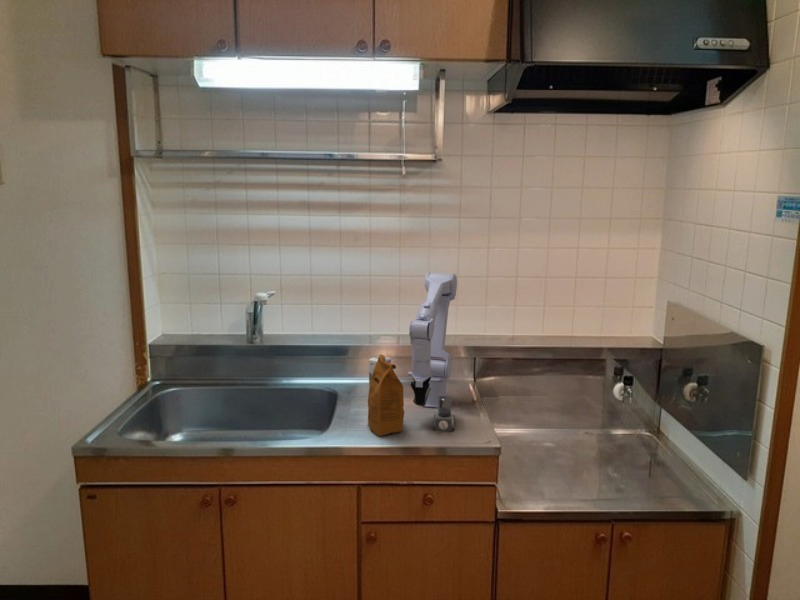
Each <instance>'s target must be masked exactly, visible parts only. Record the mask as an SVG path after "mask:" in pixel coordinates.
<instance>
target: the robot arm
mask: <svg viewBox="0 0 800 600" xmlns="http://www.w3.org/2000/svg"><path fill="white" fill-rule="evenodd" d="M424 277H425V278H424V287H425V291H426V293H427V294H426V297H425V302H423V303H421V305H420V306H419V309H418V312H417V314H416V317H415V319H414V320H412V321H410V324H409V330H408V331H409V338H410V339H409V340H410V345H411V371H408V372H407V376H408V377H409V376H410V377H411V378H412V380H413V381H411V382H410V387H411V388H412V390H413V393H414V397H415V399H416V404H417V406H418V405H424V401H425V395H426V392H427V389H428V387H430V388H431V391H430V394H429V396H428V399H427V402H426V405H425V406H422V407H423V408H438V398H439V397H441V396H447V380H448V379H449V378H450V377H451V375H452V369H453V365H452V359H453V358H452V356H451V355H450V353H449V352H447V351H446V349H445V344H446V335H447V328H448V327H447V326H448V315H449V307H450V303H451V301H453V300H455V299H456V295H457V289H458V288H457V286H458V277H457V274H455V273H441V272H431V271H428V272H427V273H426V274H425V276H424ZM416 404H415V405H416Z"/></svg>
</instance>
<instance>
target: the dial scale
mask: <svg viewBox="0 0 800 600" xmlns="http://www.w3.org/2000/svg"><path fill="white" fill-rule="evenodd" d="M455 425H456V415H455V412H451V416H450V417H446V418H444V417H440V416H438V411H435V414H434V416H433V421H432V430H434V432H444V433H447V432H448V433H452V431H455V427H456V426H455Z"/></svg>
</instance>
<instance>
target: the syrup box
mask: <svg viewBox="0 0 800 600" xmlns="http://www.w3.org/2000/svg"><path fill="white" fill-rule="evenodd" d="M384 357H385V362H387V363H391V364H392V358H391V357H387V356H384ZM378 358H379V355H376V356H373V357H371V358H369V359H368V388H369V387H370V380H371V377H372V373H373V371H374V369H375V366H376V363H377V361H378Z"/></svg>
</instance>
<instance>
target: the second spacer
mask: <svg viewBox="0 0 800 600" xmlns="http://www.w3.org/2000/svg"><path fill="white" fill-rule="evenodd" d="M430 391H431V388H430V387H428V389H427V392H426V395H425V401H424V405H417V404H416V399H415V396H414V397H413V399H412V403H413V404H415V405H417V406H418V407H423V406H425V405H426V402H427V399H428V396H429V394H430Z"/></svg>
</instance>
